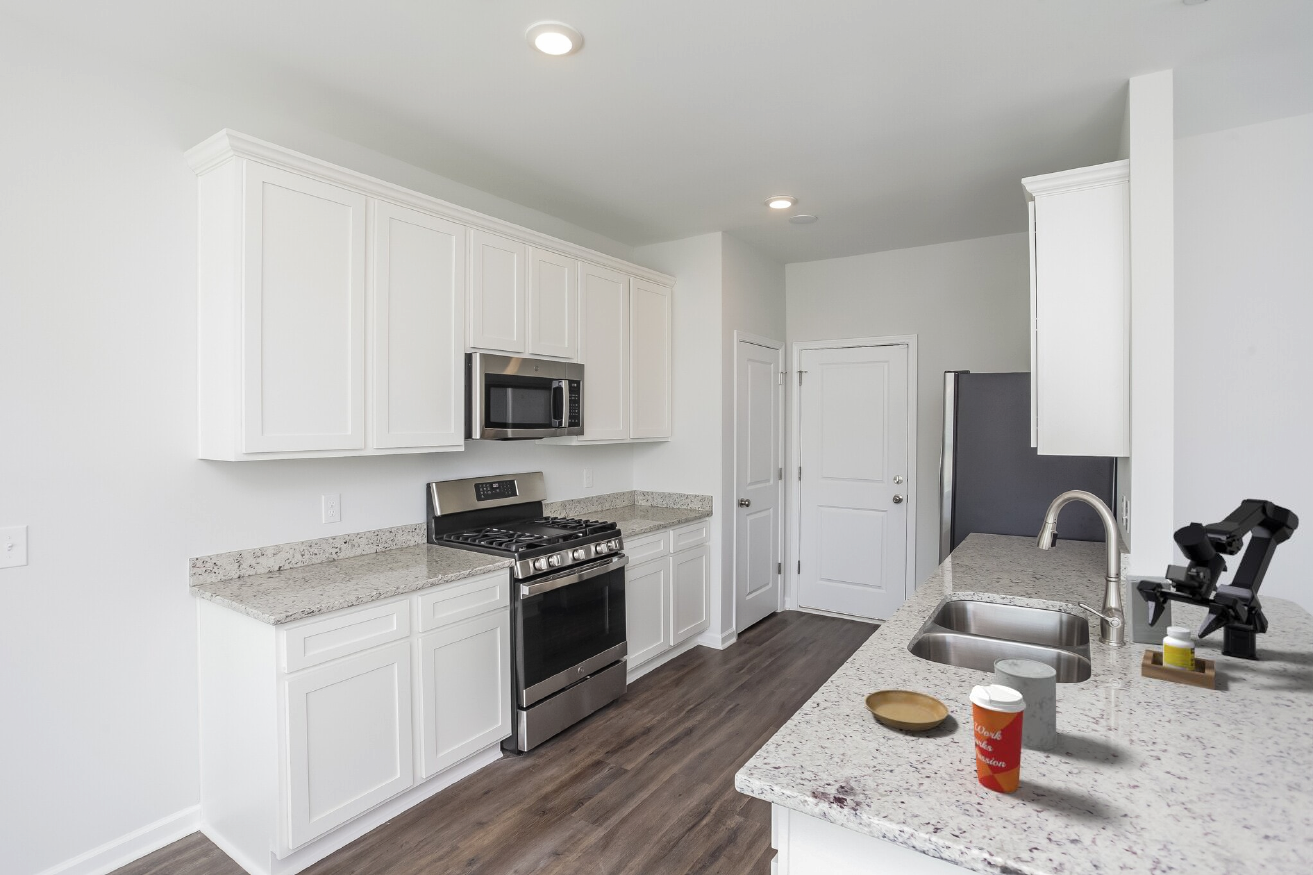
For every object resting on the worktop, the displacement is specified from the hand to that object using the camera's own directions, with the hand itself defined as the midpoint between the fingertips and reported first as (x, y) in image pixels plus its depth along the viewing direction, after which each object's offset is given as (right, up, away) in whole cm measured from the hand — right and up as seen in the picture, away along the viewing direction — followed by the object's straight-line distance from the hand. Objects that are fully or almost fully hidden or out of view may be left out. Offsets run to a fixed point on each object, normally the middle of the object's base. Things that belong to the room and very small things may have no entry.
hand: (1174, 631), depth 141 cm
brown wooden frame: (+1, -9, +1) cm, 10 cm away
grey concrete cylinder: (-47, -11, -26) cm, 55 cm away
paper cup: (-59, -12, -40) cm, 72 cm away
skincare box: (+11, -9, +22) cm, 26 cm away
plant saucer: (-64, -11, -17) cm, 68 cm away
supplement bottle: (+2, -10, +1) cm, 10 cm away
